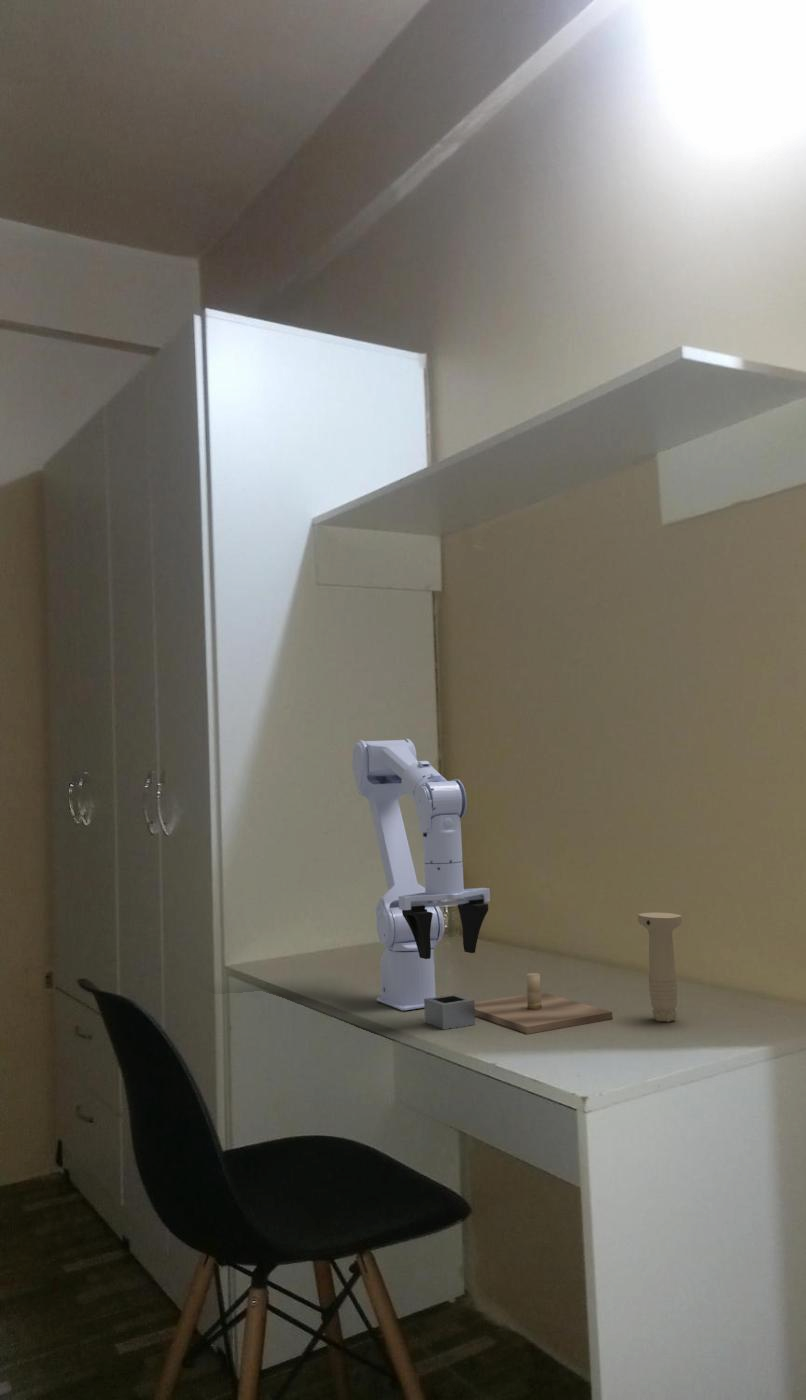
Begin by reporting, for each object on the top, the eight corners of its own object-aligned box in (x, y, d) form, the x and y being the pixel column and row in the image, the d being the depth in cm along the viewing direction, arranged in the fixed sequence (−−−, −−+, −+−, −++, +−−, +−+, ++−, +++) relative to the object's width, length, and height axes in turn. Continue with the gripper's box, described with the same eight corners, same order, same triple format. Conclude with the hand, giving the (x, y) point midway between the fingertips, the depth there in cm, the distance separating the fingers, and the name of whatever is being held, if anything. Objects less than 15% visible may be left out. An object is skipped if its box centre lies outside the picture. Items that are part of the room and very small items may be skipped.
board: (461, 1011, 172) (459, 971, 172) (541, 998, 179) (539, 960, 179) (527, 1034, 156) (525, 990, 156) (612, 1018, 163) (610, 977, 163)
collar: (425, 1022, 165) (424, 998, 165) (456, 1017, 168) (455, 994, 168) (443, 1029, 160) (442, 1005, 160) (475, 1024, 163) (474, 1000, 163)
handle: (659, 1013, 165) (654, 911, 166) (693, 1020, 160) (688, 915, 161) (636, 1018, 162) (631, 915, 163) (670, 1026, 157) (664, 919, 158)
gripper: (413, 867, 158) (417, 964, 158) (499, 859, 165) (503, 952, 164) (390, 865, 165) (394, 958, 164) (474, 858, 172) (478, 947, 171)
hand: (447, 955), depth 164 cm, fingers open, 7 cm apart
